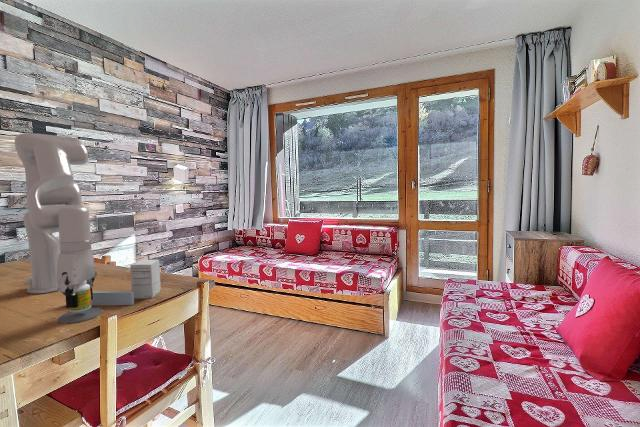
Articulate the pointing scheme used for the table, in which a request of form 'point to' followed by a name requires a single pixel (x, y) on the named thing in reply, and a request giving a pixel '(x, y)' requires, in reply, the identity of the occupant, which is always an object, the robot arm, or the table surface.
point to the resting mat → (80, 315)
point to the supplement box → (145, 278)
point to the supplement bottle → (82, 297)
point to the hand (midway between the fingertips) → (80, 302)
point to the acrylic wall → (113, 298)
